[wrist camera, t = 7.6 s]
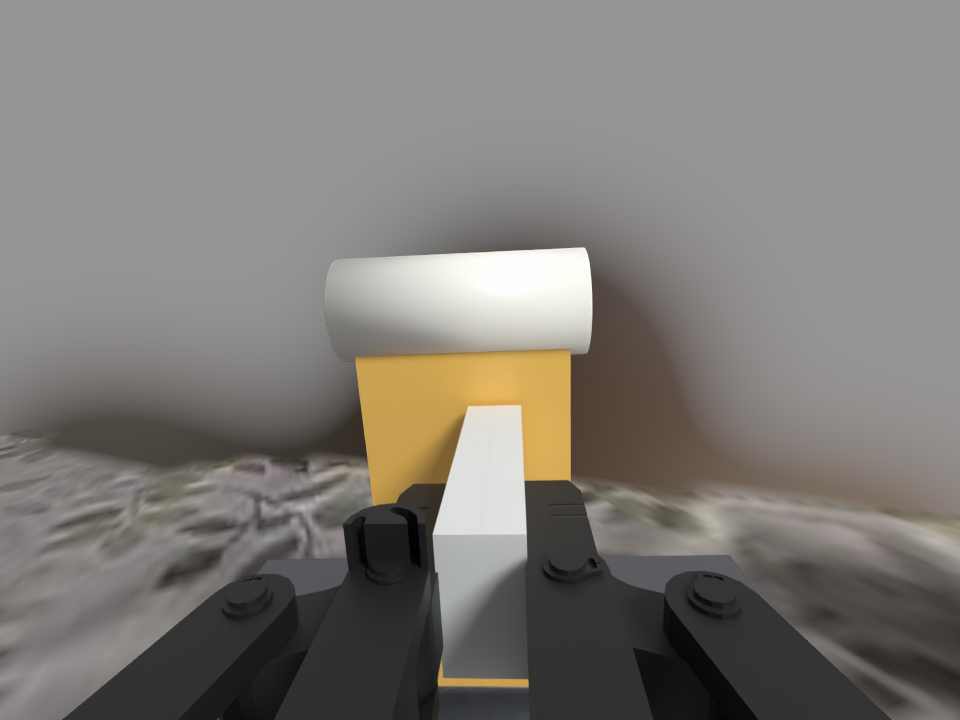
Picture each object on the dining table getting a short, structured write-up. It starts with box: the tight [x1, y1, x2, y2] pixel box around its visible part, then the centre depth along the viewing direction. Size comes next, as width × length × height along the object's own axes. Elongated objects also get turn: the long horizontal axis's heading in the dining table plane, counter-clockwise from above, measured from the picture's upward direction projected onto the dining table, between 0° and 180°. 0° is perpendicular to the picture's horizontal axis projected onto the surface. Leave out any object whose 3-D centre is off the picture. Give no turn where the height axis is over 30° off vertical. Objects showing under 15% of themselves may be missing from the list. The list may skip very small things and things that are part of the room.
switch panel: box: [217, 555, 755, 720], centre depth 19 cm, size 16×24×7 cm, turn 87°
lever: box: [325, 248, 592, 688], centre depth 17 cm, size 3×7×15 cm, turn 87°
